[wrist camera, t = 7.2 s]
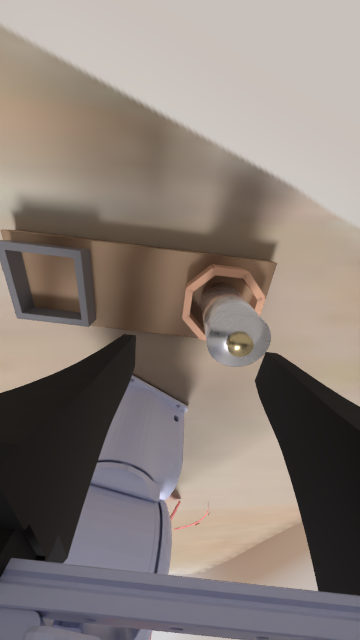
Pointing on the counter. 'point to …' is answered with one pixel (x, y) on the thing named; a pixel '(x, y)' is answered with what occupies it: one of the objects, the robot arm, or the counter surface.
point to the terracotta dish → (206, 275)
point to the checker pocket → (21, 290)
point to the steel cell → (232, 326)
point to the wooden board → (131, 281)
